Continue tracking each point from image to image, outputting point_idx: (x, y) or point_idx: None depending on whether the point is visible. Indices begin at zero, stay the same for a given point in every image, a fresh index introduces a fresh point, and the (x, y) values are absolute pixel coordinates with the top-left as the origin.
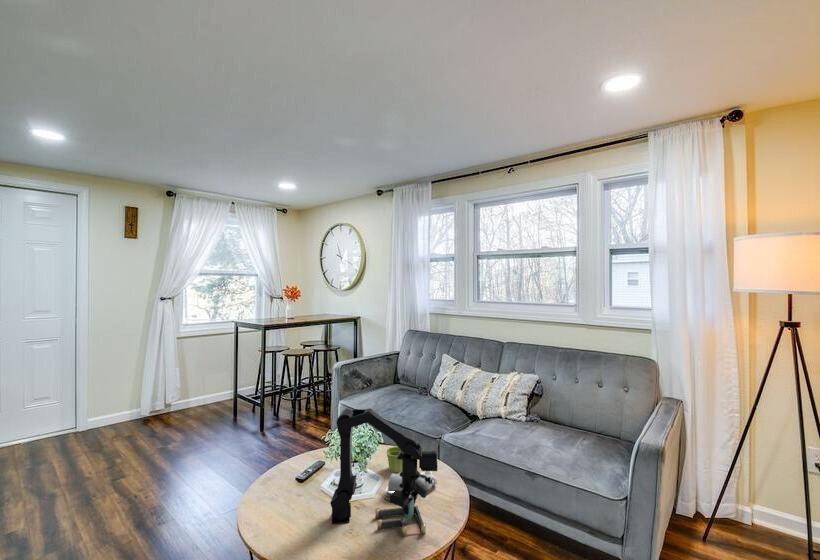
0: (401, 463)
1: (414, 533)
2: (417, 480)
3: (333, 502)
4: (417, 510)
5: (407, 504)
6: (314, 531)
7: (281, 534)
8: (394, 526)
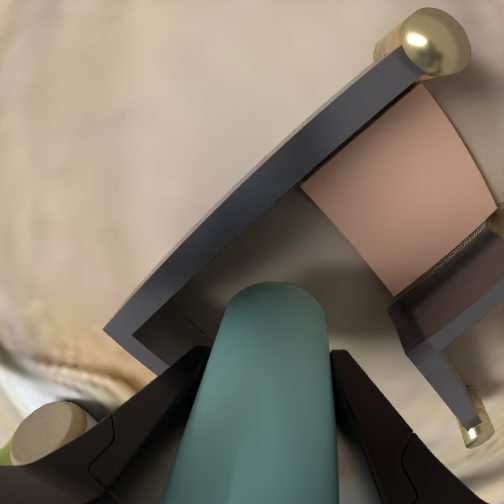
0: (8, 458)
1: (461, 144)
2: None
3: None
4: (161, 292)
5: (474, 494)
6: (483, 484)
7: (492, 496)
8: (441, 350)
